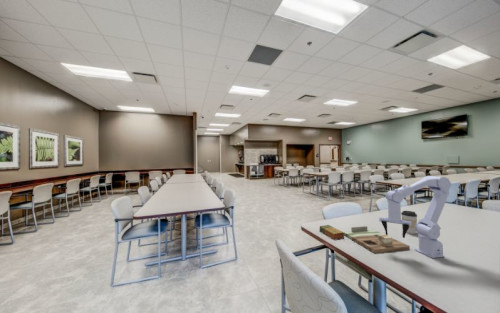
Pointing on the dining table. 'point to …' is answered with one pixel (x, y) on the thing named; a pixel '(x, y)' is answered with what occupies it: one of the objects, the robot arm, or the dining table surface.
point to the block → (385, 240)
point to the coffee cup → (410, 217)
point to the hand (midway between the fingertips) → (394, 235)
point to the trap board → (373, 240)
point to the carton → (332, 232)
